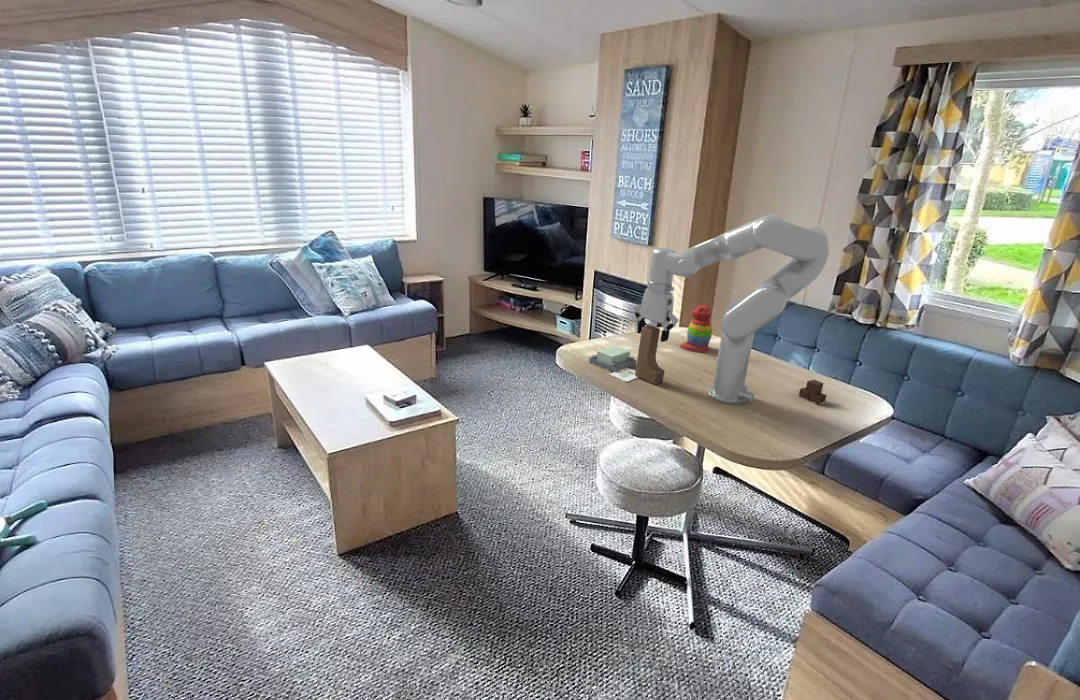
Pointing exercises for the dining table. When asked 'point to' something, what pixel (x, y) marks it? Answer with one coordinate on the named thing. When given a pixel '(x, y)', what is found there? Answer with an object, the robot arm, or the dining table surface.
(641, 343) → the wooden block
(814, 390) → the stack of crates
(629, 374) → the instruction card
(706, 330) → the stacking bear
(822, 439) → the dining table surface
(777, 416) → the dining table surface
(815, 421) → the dining table surface
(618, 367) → the baseplate
